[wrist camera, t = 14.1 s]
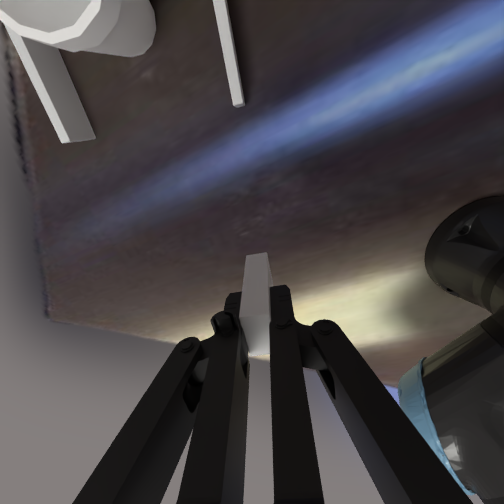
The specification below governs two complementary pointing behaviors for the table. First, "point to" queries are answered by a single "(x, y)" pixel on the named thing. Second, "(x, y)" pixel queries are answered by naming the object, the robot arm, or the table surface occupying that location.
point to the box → (64, 93)
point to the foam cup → (84, 24)
